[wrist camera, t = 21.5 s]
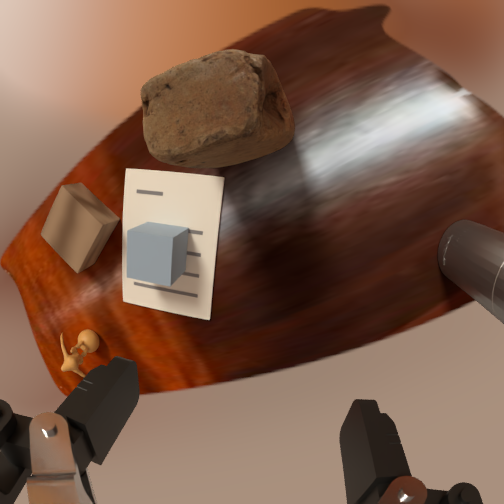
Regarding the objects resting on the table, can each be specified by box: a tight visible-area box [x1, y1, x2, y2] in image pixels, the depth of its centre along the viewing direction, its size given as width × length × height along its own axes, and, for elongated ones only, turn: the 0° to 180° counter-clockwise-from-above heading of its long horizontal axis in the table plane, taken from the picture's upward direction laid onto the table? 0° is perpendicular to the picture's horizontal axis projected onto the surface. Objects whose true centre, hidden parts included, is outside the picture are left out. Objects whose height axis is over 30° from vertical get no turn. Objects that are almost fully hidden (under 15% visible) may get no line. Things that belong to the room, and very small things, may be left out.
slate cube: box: [127, 222, 189, 287], centre depth 37 cm, size 6×6×6 cm
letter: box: [122, 169, 225, 320], centre depth 41 cm, size 14×20×1 cm
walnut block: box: [41, 183, 120, 273], centre depth 39 cm, size 9×9×5 cm
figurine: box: [60, 330, 99, 377], centre depth 41 cm, size 8×6×12 cm
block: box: [141, 49, 295, 168], centre depth 26 cm, size 11×8×20 cm
